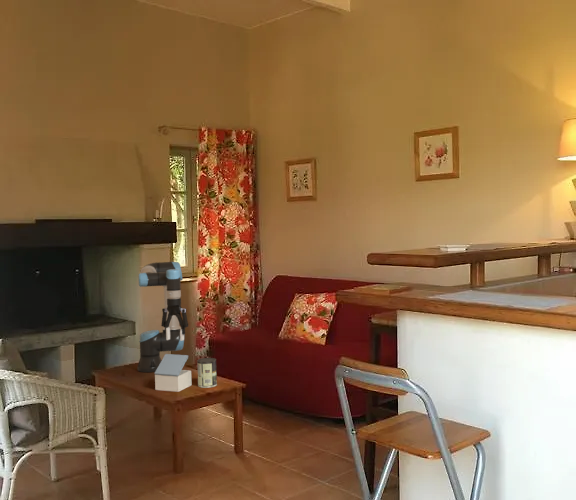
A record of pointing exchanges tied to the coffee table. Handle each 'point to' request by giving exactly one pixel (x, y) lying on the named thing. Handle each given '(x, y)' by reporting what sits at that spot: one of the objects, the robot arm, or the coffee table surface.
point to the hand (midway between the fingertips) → (175, 339)
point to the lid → (171, 365)
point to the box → (173, 381)
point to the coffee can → (207, 372)
